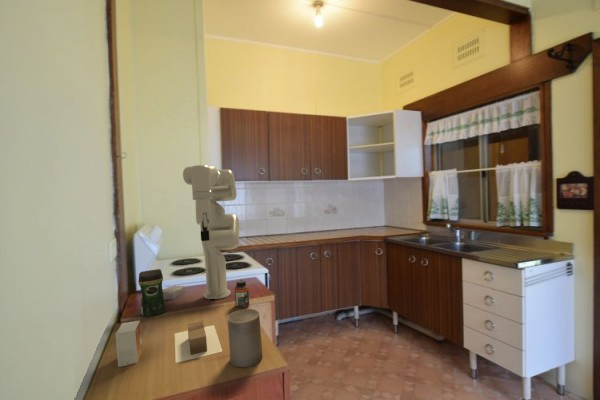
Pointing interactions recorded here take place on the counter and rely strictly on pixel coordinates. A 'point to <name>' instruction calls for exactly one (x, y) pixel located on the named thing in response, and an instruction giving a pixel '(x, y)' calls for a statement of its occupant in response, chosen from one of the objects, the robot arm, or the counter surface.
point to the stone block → (173, 292)
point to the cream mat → (184, 348)
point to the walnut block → (197, 338)
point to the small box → (128, 343)
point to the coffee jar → (151, 292)
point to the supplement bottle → (241, 294)
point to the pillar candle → (244, 337)
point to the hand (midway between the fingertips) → (205, 240)
